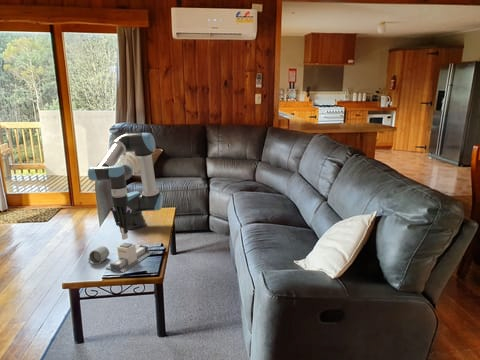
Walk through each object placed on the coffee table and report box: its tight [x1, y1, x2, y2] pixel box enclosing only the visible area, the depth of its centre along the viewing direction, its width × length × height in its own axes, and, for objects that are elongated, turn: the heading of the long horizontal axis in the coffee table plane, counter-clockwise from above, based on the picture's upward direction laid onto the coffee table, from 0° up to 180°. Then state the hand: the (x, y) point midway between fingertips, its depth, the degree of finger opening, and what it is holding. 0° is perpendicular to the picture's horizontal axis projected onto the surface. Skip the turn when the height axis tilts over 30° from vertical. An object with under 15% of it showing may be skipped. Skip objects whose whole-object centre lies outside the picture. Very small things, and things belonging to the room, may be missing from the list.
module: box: [116, 242, 137, 265], centre depth 185 cm, size 6×7×10 cm
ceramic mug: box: [87, 246, 110, 265], centre depth 189 cm, size 11×8×8 cm
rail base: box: [105, 244, 154, 273], centre depth 188 cm, size 24×12×4 cm, turn 156°
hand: (125, 238), depth 183 cm, fingers closed
